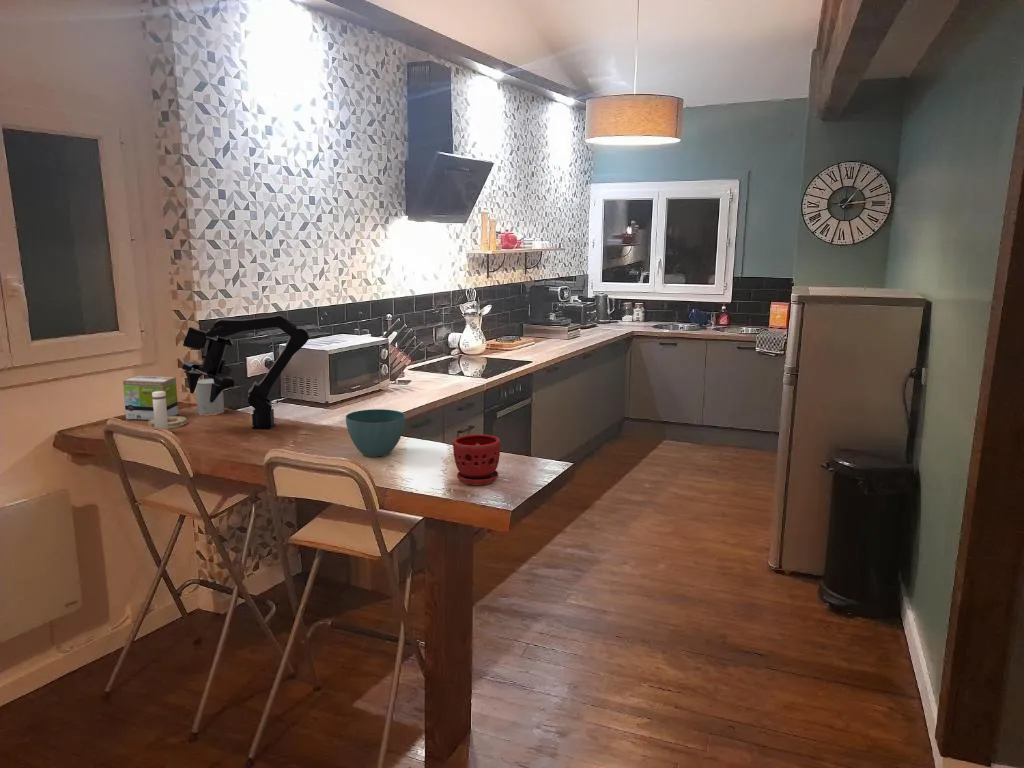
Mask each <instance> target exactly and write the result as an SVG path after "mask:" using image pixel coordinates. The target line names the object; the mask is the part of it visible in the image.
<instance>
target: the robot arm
mask: <svg viewBox="0 0 1024 768" xmlns="http://www.w3.org/2000/svg"><path fill="white" fill-rule="evenodd" d="M270 328H279V329H280V330H281V331H282V332H283V333H285V334H286V335H288V338H287V341H286V344H285V346H284V348H283V349H282V351H280V354H279V355H278V357H277V358H276V360H275V361H274V362H273V364H272V365H271V367H270V368H269V369H268V371H267V373H266V374H265V375H264V377H263V378H262V380H260V381H259V382H257V381H256V380H255V381H254V382H253V384H252V386H251V388H249V389H248V392H247V402H248V404H249V406H250V407H252V408H254V409H253V410H252V414H251V421H252V422H251V425H252V426H251V429H252V430H253V429H255V430H256V429H259V430H260V429H261V430H270V429H272V428H274V427H275V426H277V423H275V413H274V411H275V410H274V408H272V407H273V402H272V399H271V400H270V399H269V398H268V396H269V394H270V392H271V389H272V387H273V386H274V385H275V383H276V381H277V380H278V378H279V376H280V375H281V374H282V373H283V371H284V370H285V368H286V367H287V365H288V363H290V361H291V359H292V358H293V356H294V355H296V353H298V351H299V350H300V349H302V348H303V347H304V346H305V345H306V344H307V342H308V341H309V333H308V331H307V329H305V328H304V327H302V326H297V325H296V324H294V323H293V322H291V321H290V320H289V319H287V318H285V316H283V315H282V314H276V315H271V316H270V315H269V316H261V317H253V318H245V319H241V318H240V319H237V318H225V317H224V318H223V317H222V318H218V319H217V320H216V321H215V322H214V323H213V326H211V327H210V328H208V329H207V330H206V331H204V330H200V329H197V328H195V327H193V326H189V327H188V329H187V333H186V335H185V337H184V339H183V340H184V341H183V343H182V344H183V345H182V346H183V347H186V348H188V349H193V350H197V351H201V350H203V349H205V348H206V351H205V353H204V354H201V358H202V359H203V361H202V364H201V363H199V362H197V361H188V360H187V361H185V362H184V363H182V364H183V365H182V367H181V368H182V370H184V372H183V373H185V375H186V379H187V383H188V387H189V394H194V393H195V392H196V385H197V382H198V380H200V378H201V377H202V376H205V377H208V378H209V379H214V380H213V381H214V383H212V386H211V394H210V402H211V403H213V402H214V400H215V399H216V398H217V396H218V395H219V394H220V393H221V392H222V391H223V392H224V390H225V389H230V387H231V388H234V385H235V379H234V377H231V374H232V372H233V369H232V368H231V367H230V366H227V365H226V364H225V363H226V360H225V359H224V355H225V352H226V348H227V346H229V347H232V346H234V342H233V341H232V338H231V337H229V336H231V335H236V334H238V333H241V332H247V331H253V330H264V329H270ZM214 337H215V338H214ZM216 337H217V338H216ZM225 337H228V338H225ZM207 343H208V344H207ZM206 346H207V347H206Z"/></svg>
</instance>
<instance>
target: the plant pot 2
mask: <svg viewBox="0 0 1024 768" xmlns="http://www.w3.org/2000/svg"><path fill="white" fill-rule="evenodd" d="M452 447H453V448H452V449H453V457H454V458H453V459H454V464H455V466H456V468H457V470H458V472H457V473H456V477H457V479H458V480H459V481H460V482H462V483H464V484H465V485H475V486H481V485H487V484H491V483H493V482H495V481H496V480H497V479H498V477H499V472H498V471H497V468H498V466H499V462H500V456H501V455H500V454H501V440H500V438H499V437H497V436H495V435H491V434H468V435H462V436H459V437H457V438H454V439H453V441H452Z"/></svg>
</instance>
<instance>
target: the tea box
mask: <svg viewBox="0 0 1024 768" xmlns="http://www.w3.org/2000/svg"><path fill="white" fill-rule="evenodd" d="M122 383H123V384H122V386H123V396H124V397H123V398H124V400H123V401H124V410H125V419H126V420H144V421H145V420H146V421H147V420H148V421H150V420H152V419H154V409H153V399H152V392H156V391H165V395H166V407H167V416H169V417H170V416H175V415H176V416H178V415H179V408H178V407H179V404H178V402H179V401H178V390H177V389H178V388H177V377H176V376H157V375H156V376H154V375H152V376H151V375H150V376H149V375H136V376H134V377H130V378H128V379H125V380H123V381H122ZM177 414H178V415H177Z"/></svg>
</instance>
